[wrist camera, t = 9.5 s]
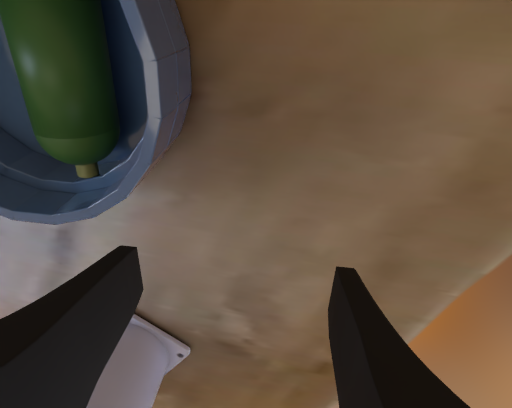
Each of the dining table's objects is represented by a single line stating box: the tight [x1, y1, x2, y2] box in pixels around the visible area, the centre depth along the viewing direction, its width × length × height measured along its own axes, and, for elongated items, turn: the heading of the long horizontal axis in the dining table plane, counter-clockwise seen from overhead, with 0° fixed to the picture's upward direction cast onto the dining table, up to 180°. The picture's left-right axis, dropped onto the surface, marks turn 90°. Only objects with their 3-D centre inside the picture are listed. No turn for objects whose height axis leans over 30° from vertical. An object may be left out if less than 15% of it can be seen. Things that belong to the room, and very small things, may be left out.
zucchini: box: [0, 0, 120, 178], centre depth 17 cm, size 10×4×4 cm
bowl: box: [0, 0, 191, 225], centre depth 17 cm, size 14×14×5 cm
